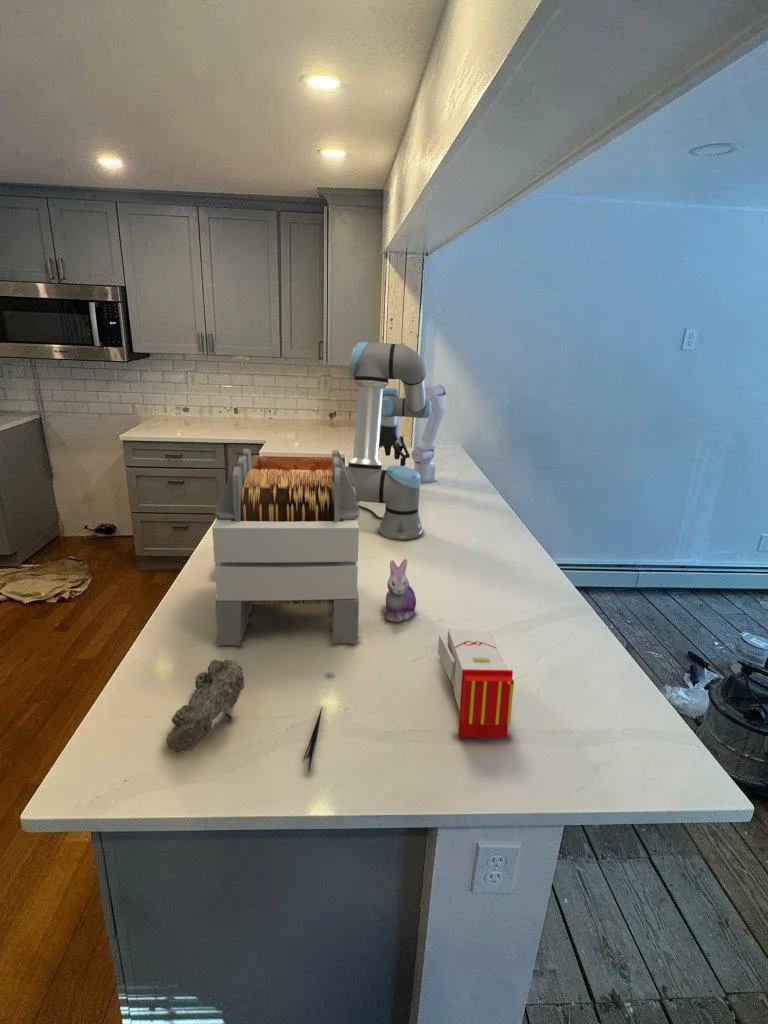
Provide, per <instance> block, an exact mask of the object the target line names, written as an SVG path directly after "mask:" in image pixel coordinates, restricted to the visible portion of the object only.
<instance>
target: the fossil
mask: <svg viewBox="0 0 768 1024" xmlns="http://www.w3.org/2000/svg"><path fill="white" fill-rule="evenodd" d="M243 670H244V669H243V667H242V665H240V664H237V662H236V661H235V660H234V659H232V658H231V659H227V658H226V659H224V660H223V661H222V660H217V659H212V660H211V661H210V663H209V665H208V666H207V671H201V672H199V673H198V674H197V675H196V676H195V680H194V684H195V685H194V687H195V689H194V690H193V693H192V694H191V697H190V698H189V700H188V704H184V705H182V706H181V707H180V709H177V710H176V711H175V713H174V715H173V716H172V718H171V723H172V724H173V727H172V730H171V731H170V732H168V734H167V738H166V741H167V742H166V745H167V749H168V750H169V751H173V752H174V753H176V754H178V753H182V752H188V751H189V752H192V751H193V750H195V748H196V747H197V746H199V744H200V743H201V742H203V741H204V740H205V739H206V738H207V737H208V736H209V735H210V734H211V733H212V732H214V730H215V729H217V727H218V726H219V724H220V722H221V721H222V720H223V719H224V718H225V716H226V717H227V719H229V720H233V717H232V715H230V714H229V710H230V709H231V708H234V706H235V704H236V703H237V702H238V699H239V697H240V695H241V693H242V691H243V690H245V689H244V688H245V675H244V671H243Z"/></svg>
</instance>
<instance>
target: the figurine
mask: <svg viewBox="0 0 768 1024" xmlns="http://www.w3.org/2000/svg"><path fill="white" fill-rule="evenodd" d="M407 567H408V559H406V558H404V559H403V560H402V561H401V563H400V565H399V566H398V565H397V563H396V562H395V561H394V560H393V559H391V560H390V561H389V570H390V576H389V578H388V579H387V589H388V591H387V592H386V594H385V595H386V596H385V607H384V615H385V616H386V620H387V621H391V622H395V623H400V622H402V621H406V620H409V619H410V618H411V617H413V616H414V615H415V610H416V606H417V597H416V593H415V591H414V590H413V587H411V586H410V582H409V579H408V577H407V574H406V571H407Z"/></svg>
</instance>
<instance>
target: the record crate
mask: <svg viewBox="0 0 768 1024" xmlns="http://www.w3.org/2000/svg"><path fill="white" fill-rule="evenodd" d="M331 454H332V455H331V458H332V459H331V469H325V470H324V469H315V470H311V469H300V470H297V469H289V470H283V469H281V468H280V469H278V468H277V469H273V468H271V469H269V468H266V469H265V468H260V469H259V468H258V469H257V468H252V466H253V465H252V452H251V448H243V449H242V451H241V453H240V455H239V457H238V460H237V462H236V464H235V465H234V466H233V468H232V470H231V473H230V475H229V477H228V479H227V482H226V484H225V486H224V488H223V491H222V492H221V495H220V497H219V499H218V501H217V504H216V506H215V509H214V517H215V518H216V520H214V523H213V525H212V543H213V544H212V545H213V561H214V563H215V564H216V562H217V564H216V567H215V566H214V574H215V591H216V599H215V604H214V605H215V619H216V620H215V621H216V629H217V641H218V642H217V646H219V647H220V646H221V647H225V646H240V644H241V643H242V640H243V637H244V634H245V632H246V629H247V627H248V624H249V615H251V611H252V606H253V605H272V604H273V605H278V604H279V605H281V604H282V605H290V604H292V605H297V604H299V605H300V604H309V605H310V604H315V605H316V604H331V623H332V624H331V626H332V644H351V645H355V644H356V643H357V642H359V607H360V605H359V603H360V598H359V591H358V575H359V574H358V571H359V566H358V562H359V538H360V537H359V535H360V526H359V521H358V518H359V517H360V508H359V507H358V505H359V502H358V501H357V497H356V492H355V486H354V484H353V482H352V480H351V478H350V475H349V473H348V471H347V469H346V467H347V466H346V464H345V462H344V460H343V458H342V455H341V454H340V451H339V450H338V449H332V453H331Z"/></svg>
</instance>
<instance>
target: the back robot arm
mask: <svg viewBox="0 0 768 1024" xmlns="http://www.w3.org/2000/svg"><path fill="white" fill-rule="evenodd" d="M424 390H425V399H428V400H430V401H431V412H430V417H429V418H427V422H426V425H425V428H424V431H423V434H422V436H421V440H420V441H419V442H418V443H416V445H415V447H414V449H413V450H412V452H411V458H412V460H413V463H414V468H413V469H414V470H415V471H417V472H418V473H419V475H420V484H423V483H430V482H431V483H432V482H436V479H435V477H436V463H435V462H434V461H433V458H434V457H435V449H436V445H434V442H435V439H436V436H437V433H438V430H439V428H440V424H441V422H442V420H443V416H444V413H445V411H446V398H447V396H448V393H447V391H446V388H445V387H444V386H443V385H442V384H438V385H425V386H424ZM400 398H405V395H404V396H401V397H400ZM401 419H402V417H401V416H397V424H396V426H397V431H396V436H397V437H400V433H401V432H400V431H401ZM395 444H396V445H397V446H398V448H399V449H400V450H401V451H402V452H403V451H404V449H403V446H402V444H401V442H399V440H397V441H396V442H395ZM392 448H393V453H394V456H393V457H394V460H399V459H400V458H401V455H400V454H399V453H398V451H397V450H396V449H395V448H394V446H391V447H388V446H386V447H384V446H383V449H384V454H385V456H386V457H389V456H391V451H392Z"/></svg>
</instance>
